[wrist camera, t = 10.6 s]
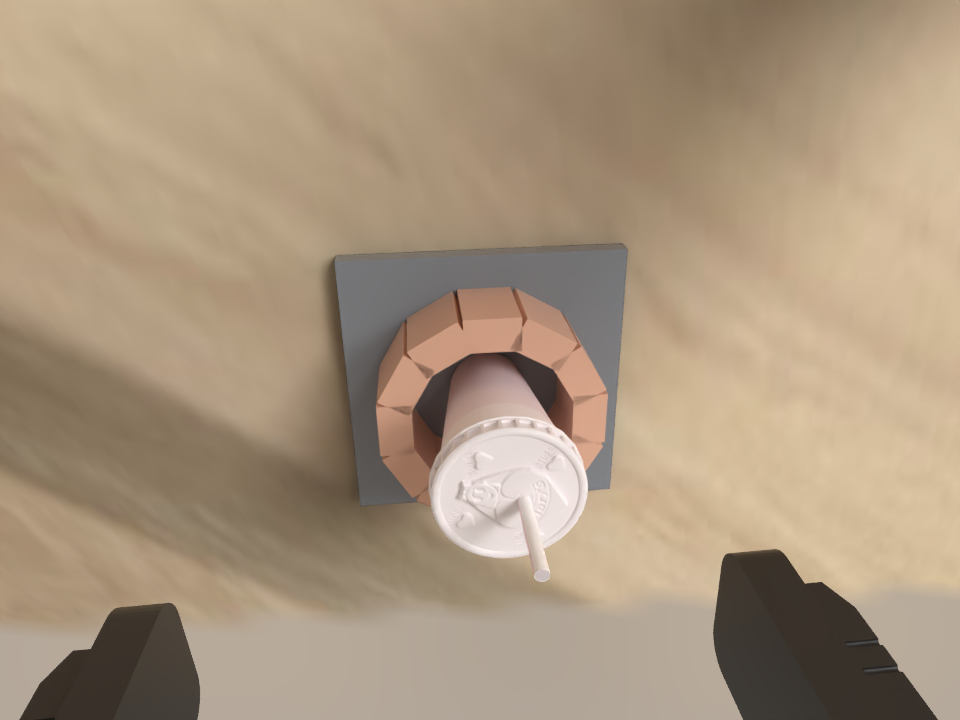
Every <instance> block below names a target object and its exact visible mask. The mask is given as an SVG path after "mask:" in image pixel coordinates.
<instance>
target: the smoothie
mask: <svg viewBox="0 0 960 720" xmlns="http://www.w3.org/2000/svg"><path fill="white" fill-rule="evenodd" d="M428 492H429V496H430V500H431V507H432V512H433V515H434V518H435V520H436V522H437V524H438V526H439V528H440V529H441V530H442V532H443V533H444V534H445V535H446V536H447V537H448V538H449V539H450V540H451V541H452V542H453V543H455V544H456V545H458V546H459V547H461V548H463V549H465V550H467V551H469V552H471V553H474V554H477V555H481V556H485V557H491V558H514V557H521V556H525V555H529V556H530V560H531V565H532V569H533V573H534V578H535V579H536V580H537V581H539V582H544V581H546V580H548V579H549V577H550V571H549V567H548V563H547V560H546V556H545V552H544V549H545V548H547V547H549V546H550V545H552V544H554V543H555V542H557V541H558V540H559V539H561V538H562V537H563V536H564V535H565V534H567V533H568V532H569V530H570V529H571V528H572V527H573V526H574V525H575V523H576V522H577V520H578V519H579V517H580V515H581V514H582V512H583V509H584V507H585V503H586V500H587V494H588V481H587V475H586V472H585V469H584V466H583V460H582V458H581V456H580V454H579V451H578V449H577V447H576V445H575V444H574V443H573V442H572V441H571V440H570V439H569V438H568V436H567V435H566V434H565V433H564V432H563V431H561V430H560V429H558V428H556V427H555V426H554V425H553V423H552V422H551V420H550V418H549V417H548V415H547V414H546V412H545V411H544V409H543V407H542V406H541V404H540V403H539V401H538V400H537V398H536V397H535V395H534V393H533V392H532V390H531V389H530V387H529V386H528V384H527V382H526V381H525V379H524V378H523V376H522V375H521V373H520V371H519V370H518V368H517V367H516V365H515V364H514V363H513V362H512V361H511V360H509V359H508V358H506V357H505V356H502V355H500V354H496V353H479V354H476V355H473V356H470V357H469V358H467V359H465V360H464V361H463V362H461V363H460V364H459V365H458V367H457V368H456V369H455V371H454V373H453V375H452V378H451V383H450V390H449V397H448V404H447V411H446V418H445V425H444V432H443V439H442V445H441V451H440V452H439V453H438V455H437V456H436V458H435V461H434V463H433V466H432V468H431V471H430V474H429V488H428Z"/></svg>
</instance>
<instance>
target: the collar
mask: <svg viewBox="0 0 960 720" xmlns="http://www.w3.org/2000/svg"><path fill="white" fill-rule="evenodd" d="M627 253H628V249H627V248H626V247H625V246H624V245H623V244H622V243H619V244H595V245H571V246H547V247H523V248H499V249H476V250H452V251H428V252H404V253H380V254H356V255H336V258H335V261H334V264H335V273H336V282H337V292H338V301H339V310H340V320H341V329H342V338H343V348H344V357H345V366H346V375H347V385H348V394H349V403H350V413H351V422H352V431H353V441H354V450H355V459H356V469H357V478H358V487H359V497H360V506H367V505H381V504H396V503H411V502H421V503H423V504H426V505H428V506H431V500H430V496H429V492H428V488H429V474H430V471H431V468H432V466H433V463H434V461H435V458H436V456H437V455H438V453H439V452H440V451H441V445H442V439H443V432H444V425H445V418H446V411H447V404H448V397H449V390H450V383H451V378H452V375H453V373H454V371H455V369H456V368H457V367H458V365H459V364H460V363H461V362H463V361H464V360H465V359H467V358H469V357H470V356H473V355H476V354H479V353H496V354H500V355H502V356H505V357H506V358H508V359H509V360H511V361H512V362H513V363H514V364H515V365H516V367H517V368H518V370H519V371H520V373H521V375H522V376H523V378H524V379H525V381H526V382H527V384H528V386H529V387H530V389H531V390H532V392H533V393H534V395H535V397H536V398H537V400H538V401H539V403H540V404H541V406H542V407H543V409H544V411H545V412H546V414H547V415H548V417H549V418H550V420H551V422H552V423H553V425H554V426H555V427H556V428H558V429H560V430H561V431H563V432H564V433H565V434H566V435H567V436H568V438H569V439H570V440H571V441H572V442H573V443H574V444H575V445H576V447H577V449H578V451H579V454H580V456H581V458H582V460H583V466H584V469H585V472H586V475H587V481H588V490H600V489H610V479H611V466H612V453H613V440H614V426H615V413H616V400H617V386H618V373H619V360H620V346H621V333H622V320H623V306H624V293H625V280H626V266H627Z"/></svg>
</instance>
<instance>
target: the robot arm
mask: <svg viewBox="0 0 960 720" xmlns="http://www.w3.org/2000/svg"><path fill="white" fill-rule="evenodd" d="M713 631H714V632H713V635H714V646H715V652H716V656H717V660H718V664H719V667H720V669H721V672H722V674H723V677H724V679H725V681H726V683H727V685H728V688H729V689H730V691H731V694H732V696H733V698H734V701H735V703H736V705H737V707H738V709H739V711H740V714H741V716H742V718H743V720H938V719H937V718H936V716H935V715H934V714H933V712H932V711H931V710H930V708H929V707H928V705H927V704H926V703H925V701H924V700H923V699H922V697H921V696H920V695H919V693H918V692H917V691H916V689H915V688H914V687H913V685H912V684H911V683H910V681H909V680H908V678H907V677H906V676H905V674H904V673H903V672H899V670H898V667H897V664H896V662H895V661H894V660H893V658H892V657H891V655H890V654H889V653H888V651H887V650H886V649H885V647H884V646H883V645H880V644H879V642H878V638H877V636H876V635H875V634H874V632H873V631H872V630H871V628H870V627H869V626H868V624H867V623H866V621H865V620H864V619H863V617H862V616H861V615H860V613H859V612H858V611H857V609H856V608H855V607H854V606H853V605H851V604H850V603H849V602H847V601H846V600H845V599H843V598H842V597H841V596H839V595H838V594H837V593H835V592H834V591H833V590H831V589H830V588H829V587H827V586H826V585H825V584H823V583H822V582H817V583H807V584H805V583H804V582H803V580H802V579H801V578H800V576H799V575H798V573H797V572H796V570H795V569H794V567H793V566H792V564H791V563H790V561H789V560H788V558H787V557H786V556H785V554H783V553H782V552H781V551H780V550H777V549H772V550H761V551H750V552H740V553H729V554H726V555H725V556H724V558H723V561H722V566H721V574H720V582H719V589H718V597H717V605H716V613H715V620H714V630H713ZM199 704H200V686H199V678H198V675H197V671H196V668H195V665H194V661H193V658H192V655H191V652H190V649H189V645H188V642H187V639H186V636H185V633H184V629H183V626H182V623H181V620H180V617H179V613H178V611H177V609H176V607H175V606H174V605H173V604H171V603H164V604H153V605H142V606H132V607H121V608H116V609H114V610H113V611H112V612H111V613H110V614H109V615H108V617H107V619H106V621H105V623H104V624H103V626H102V628H101V630H100V632H99V634H98V636H97V638H96V640H95V642H94V644H93V646H92V648H91V649H88V650H78V651H77V650H76V651H73V652H71V653H70V654H69V655H68V656H67V657H66V659H64V660H63V661H62V662H61V663H60V664H59V665H58V666H57V667H56V668H55V669H54V670H53V671H52V672H51V673H50V674H49V676H47V677H46V678H45V679H44V680H43V681H42V682H41V683H40V684H39V686H38V688H37V690H36V692H35V693H34V695H33V697H32V699H31V700H30V702H29V704H28V706H27V708H26V709H25V711H24V713H23V715H22V716H21V718H20V720H197V718H198V713H199Z"/></svg>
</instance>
